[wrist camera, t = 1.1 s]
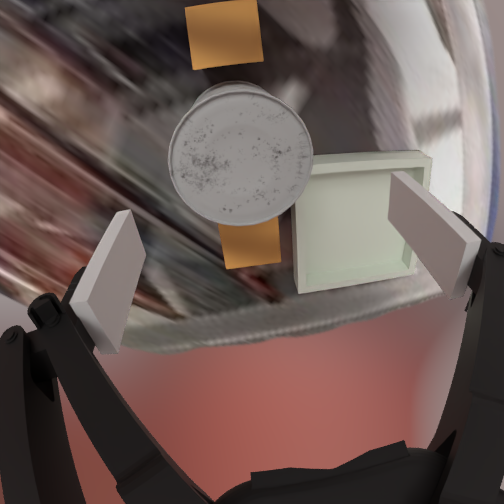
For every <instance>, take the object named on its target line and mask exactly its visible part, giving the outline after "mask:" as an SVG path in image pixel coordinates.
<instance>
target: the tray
mask: <svg viewBox="0 0 504 504" xmlns="http://www.w3.org/2000/svg"><path fill="white" fill-rule="evenodd" d="M431 167H432V158H431V157H429V156H428V155H426V154H424V153H423V152H421V151H419V150H406V151H376V152H356V153H340V154H326V155H313V167H312V171H311V175H310V179H309V181H308V183H307V185H306V187H305V189H304V191H303V193H302V194H301V196H300V197H299V198H298V199H297V200H296V202H295V203H294V204H293V205H292V206H291V223H292V244H293V268H294V281H295V284H296V288H297V291H298V294H301V293H308V292H314V291H321V290H327V289H333V288H340V287H346V286H352V285H358V284H363V283H369V282H375V281H381V280H386V279H392V278H397V277H402V276H408V275H413V274H414V271H415V267H416V262H417V257H418V256H417V255H416V254H415V252H414V251H413V250H412V249H411V247H410V246H409V245H408V244H407V242H406V241H405V240H404V239H403V237H402V236H401V235H400V234H399V232H398V231H397V230H396V229H395V227H394V226H393V225H392V224H391V223H390V221H389V220H388V209H389V197H390V182H391V172H398V171H404V172H405V173H407V174H408V175H409V176H411V177H412V178H413V179H414V180H415V181H417V182H418V183H419V184H420V185H422V186H423V187H424V188H425V189H426V190H427V191H429V185H430V176H431Z"/></svg>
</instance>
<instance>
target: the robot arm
mask: <svg viewBox="0 0 504 504" xmlns="http://www.w3.org/2000/svg"><path fill="white" fill-rule="evenodd" d="M388 220H389V221H390V223H391V224H392V225H393V226H394V227H395V229H396V230H397V231H398V232H399V234H400V235H401V236H402V237H403V239H404V240H405V241H406V242H407V244H408V245H409V246H410V247H411V249H412V250H413V251H414V252H415V254H416V255H417V256H418V258H419V259H420V260H421V262H422V263H423V264H424V266H425V267H426V268H427V270H428V271H429V272H430V274H431V275H432V276H433V278H434V279H435V280H436V282H437V283H438V285H439V286H440V287H441V289H442V290H443V292H444V293H445V294H446V296H447V297H448V299H449V300H452V299H456V298H459V297H463V296H464V294H465V291H466V288H467V285H468V286H469V287H470V288H471V289H472V293H471V296H470V298H469V301H468V303H467V306H466V309H465V311H466V312H467V310H468V312H467V318H466V323H465V329H464V334H463V339H462V343H461V348H460V353H459V357H458V361H457V365H456V369H455V373H454V377H453V380H452V384H451V388H450V391H449V394H448V398H447V401H446V404H445V407H444V410H443V414H442V416H441V420H440V423H439V425H438V428H437V431H436V433H435V436H434V438H433V439H432V441H431V443H430V445H429V446H428V448H427V449H422V448H407V447H406V444H405V441H404V440H403V441H400V442H397V443H393V444H390V445H387V446H384V447H380V448H377V449H373V450H370V451H368V452H366V453H364V454H363V455H360V456H359V457H357V458H355V459H353V460H351V461H349V462H347V463H345V464H343V465H341V466H339V467H337V468H334V469H305V468H283V469H276V470H269V471H260V472H251V480H250V481H247V482H244V483H242V484H239V485H237V486H235V487H234V488H232V489H230V490H228V491H227V492H226V493H224V494H223V495H222V496H220V497H219V499H217V500H216V501H215V502H214V501H213V500H212V499H211V498H210V497H209V496H208V495H207V494H206V493H205V492H204V491H203V490H202V489H201V488H200V487H198V486H197V485H196V484H195V483H194V482H193V481H192V480H191V479H190V478H189V477H188V476H187V474H186V473H185V472H184V471H183V470H182V469H181V468H180V467H179V466H178V465H177V464H176V463H175V461H174V460H173V459H172V458H171V457H170V456H169V455H168V454H167V452H166V451H165V450H164V449H163V448H162V447H161V445H160V444H159V443H158V442H157V441H156V439H155V438H154V437H153V436H152V435H151V433H149V431H148V430H147V429H146V427H145V426H144V425H143V423H142V422H141V421H140V420H139V418H138V417H137V416H136V414H135V413H134V412H133V411H132V409H131V408H130V406H129V405H128V404H127V402H126V401H125V400H124V398H123V397H122V396H121V394H120V393H119V391H118V390H117V388H116V387H115V386H114V384H113V383H112V381H111V380H110V378H109V377H108V375H107V374H106V373H105V371H104V369H103V368H102V366H101V365H100V363H99V362H98V360H97V359H96V357H95V356H94V354H93V350H94V347H95V346H96V347H97V348H98V350H99V351H100V353H101V354H118V353H119V348H120V344H121V341H122V337H123V333H124V329H125V325H126V321H127V318H128V314H129V310H130V307H131V303H132V300H133V296H134V293H135V289H136V286H137V283H138V279H139V276H140V273H141V270H142V266H143V263H144V260H145V257H146V253H145V250H144V247H143V245H142V242H141V239H140V236H139V233H138V230H137V227H136V224H135V221H134V218H133V215H132V212H131V209H129V210H125V211H120V212H117V213H116V214H115V216H114V218H113V220H112V221H111V223H110V225H109V227H108V228H107V230H106V232H105V234H104V236H103V237H102V239H101V241H100V243H99V245H98V246H97V248H96V250H95V252H94V254H93V256H92V258H91V260H90V262H89V264H88V266H86V267H82V268H81V269H80V270H79V271H78V272H77V273H76V274H75V276H74V277H73V279H72V281H71V284H70V285H69V287H68V289H67V290H68V291H66V293H65V295H64V297H63V299H62V301H61V303H60V301H59V300H58V298H57V296H56V295H55V294H54V293H45V294H43V295H41V296H39V297H37V298H36V299H35V300H34V301H33V302H32V303H31V304H30V306H29V308H28V315H29V317H30V318H31V320H32V321H33V323H34V324H35V326H36V327H37V330H34V331H31V332H29V333H26V332H25V331H24V329H23V328H22V327H21V326H18V325H16V326H12V327H10V328H9V329H7V330H6V331H5V332H4V333H3V335H2V336H1V338H0V475H1V482H2V488H3V495H4V500H5V504H86V501H85V498H84V495H83V492H82V489H81V486H80V482H79V479H78V476H77V472H76V469H75V465H74V461H73V458H72V453H71V450H70V445H69V441H68V437H67V432H66V428H65V423H64V417H63V412H62V407H61V401H60V395H59V388H58V381H57V377H58V379H59V381H60V383H61V385H62V387H63V389H64V391H65V393H66V395H67V397H68V400H69V401H70V403H71V405H72V407H73V409H74V411H75V413H76V415H77V417H78V419H79V421H80V422H81V424H82V426H83V428H84V430H85V431H86V433H87V435H88V437H89V438H90V440H91V442H92V444H93V445H94V447H95V449H96V450H97V451H98V453H99V455H100V456H101V458H102V460H103V461H104V463H105V464H106V466H107V467H108V469H109V471H110V472H111V474H112V475H113V476H114V478H115V480H116V482H117V485H116V489H117V492H118V493H119V495H120V496H121V498H122V499H123V501H124V502H125V503H126V504H504V491H503V490H502V489H500V486H501V483H502V479H503V476H504V244H501V243H497V242H492V243H490V242H489V241H488V240H487V239H486V238H485V237H484V236H483V235H482V234H481V233H480V232H479V231H478V230H477V229H476V228H475V229H474V226H473V225H471V224H469V222H468V221H467V220H466V219H465V218H464V217H463V216H461V215H459V214H457V213H456V212H454V211H450V210H449V209H448V208H447V207H446V206H445V205H444V204H443V203H441V202H440V201H439V200H438V199H437V198H436V197H435V196H433V195H432V194H431V193H430V192H429V191H427V190H426V189H425V188H424V187H423V186H422V185H420V184H419V183H418V182H417V181H415V180H414V179H413V178H412V177H411V176H409V175H408V174H407V173H405V172H404V171H398V172H391V182H390V197H389V209H388Z"/></svg>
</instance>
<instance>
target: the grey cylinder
mask: <svg viewBox="0 0 504 504" xmlns="http://www.w3.org/2000/svg"><path fill="white" fill-rule="evenodd" d="M168 165H169V172H170V177H171V180H172V182H173V185H174V187H175V190H176V191H177V193H178V194H179V195H180V197H181V198H182V200H183V201H184V202H185V203H186V204H187V205H188V206H189V207H190V208H191V209H192V210H193V211H195V212H196V213H197V214H199V215H201V216H203V217H204V218H206V219H208V220H210V221H213V222H216V223H220V224H223V225H231V226H248V225H255V224H259V223H262V222H266V221H269V220H271V219H273V218H274V217H276V216H278V215H280V214H282V213H283V212H284V211H286V210H287V209H288V208H289V207H291V206H292V205H293V204H294V203H295V202H296V200H297V199H298V198H299V197H300V196H301V194H302V193H303V191H304V189H305V187H306V185H307V183H308V181H309V179H310V175H311V171H312V167H313V146H312V142H311V137H310V134H309V132H308V130H307V128H306V126H305V124H304V122H303V120H302V119H301V118H300V117H299V116H298V114H297V113H296V112H295V111H294V110H293V109H292V108H291V107H290V106H288V105H287V104H286V103H284V102H283V101H282V100H280V99H279V98H276V97H274V96H272V95H270V94H269V93H268V92H267V91H265V90H264V89H263V88H261V87H260V86H257V85H255V84H252V83H250V82H245V81H239V80H236V81H226V82H222V83H219V84H216V85H214V86H212V87H210V88H209V89H207V90H206V91H205V92H203V93H202V94H201V95H200V96H199V97H198V98H197V100H196V101H195V103H194V104H193V106H192V108H191V109H190V110H189V111H188V112H187V113H186V114H185V115H184V116H183V118H182V119H181V121H180V122H179V124H178V126H177V127H176V129H175V130H174V133H173V136H172V139H171V142H170V145H169V154H168Z"/></svg>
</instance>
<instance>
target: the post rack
mask: <svg viewBox="0 0 504 504" xmlns="http://www.w3.org/2000/svg"><path fill="white" fill-rule="evenodd" d="M185 14H186V22H187V29H188V37H189V44H190V51H191V58H192V66H193V70H198V69H204V68H210V67H217V66H225V65H232V64H241V63H251V62H262V61H264V60H263V51H262V42H261V33H260V25H259V17H258V8H257V0H235V1H225V2H217V3H210V4H203V5H197V6H191V7H185ZM218 227H219V232H220V238H221V243H222V249H223V254H224V260H225V265H226V269H233V268H240V267H248V266H255V265H263V264H270V263H278V262H281V253H280V238H279V225H278V216H276V217H274V218H273V219H271V220H269V221H266V222H262V223H259V224H255V225H248V226H231V225H223V224H220V223H218Z"/></svg>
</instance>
